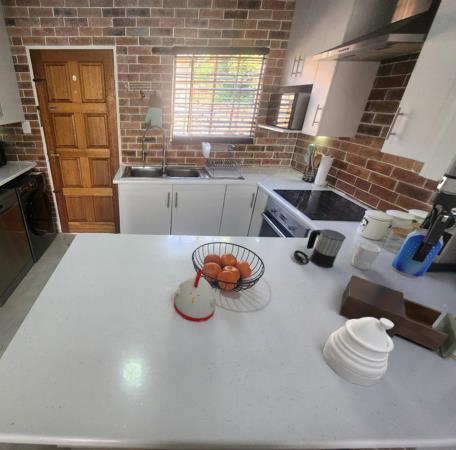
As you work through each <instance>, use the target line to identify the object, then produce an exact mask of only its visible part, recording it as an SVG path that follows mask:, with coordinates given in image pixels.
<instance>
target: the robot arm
mask: <svg viewBox="0 0 456 450" xmlns="http://www.w3.org/2000/svg"><path fill="white" fill-rule="evenodd" d="M437 183H438V184H437V186H436V189H435V190H434V191H433V192H432V194H431V196H430V198H429V202H430V203H432V205H431V206H432V207H431V208H430V210H429V212H428V213H427V214H426V216H425V217H424V219H423V220H422V222H421V224H420V225H419V227H418V229H427V230H428V231H427V234H426V236H425V238H424V240H423V241H419V243H420V245H419V247H418V248H417V250H416V252H415V253H414V255H413V257H412V258H411V260H414V261H418V262H421V263H423V261H424V260H425V258H426V257H427V255H428V253H429V252H430V250H431V249H432V247H433V246H434V247H436V246H437V243H438V242H439V240H440V238H441V236H443V234H444V232H445V230H446V229H447V227H448V225H449V223H450V222H452V220H453V212H452V211H453V209H456V152H455V153H454V155H453V157H452V158H451V161H450V163H449V165H448V166H447V168H446V170H445V171H444V174H443V176H442V178H438V179H437ZM430 241H431V242H430Z"/></svg>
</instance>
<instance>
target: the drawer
mask: <svg viewBox="0 0 456 450" xmlns="http://www.w3.org/2000/svg"><path fill="white" fill-rule="evenodd" d="M404 305H405V315H406V319H405V320H404V322H403V323H402V325H401V326H400V328H399V329H398V330H397V332H396V333H395V335H399V336H400V337H403V338H406V339H408V340H410V341H412V342H415V343H416V344H419V345H422V346H424V347H426V348H429V349H432V350H433V351H438V349H439V348H440V351H441V356H442V357H444V358H446V359H449V358H450V357H451V356H452V355H453V354H454V352H456V319H455V316H454V314H453V313H451V312H449V311H448V312H446V314H445V315H444V316H443V318H441V320H440V321H439V322H438V324H437V325H436V326H435V328H434V327H433V325H434V324H435V323H436V322H437V320H438V319H439V318H440V317H441V315H442V313H443V311H441V310H438V309H435V308H432V307H430V306H427V305H424V304H421V303H419V302H416V301H413V300H410V299H408V298H406V297H404Z"/></svg>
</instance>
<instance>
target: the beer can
mask: <svg viewBox="0 0 456 450" xmlns="http://www.w3.org/2000/svg"><path fill="white" fill-rule="evenodd" d="M427 231H428V230H427V229H420V228H415V229H414V230H413V231H411V232H410V233H408V234H407V236H406V237H405V239H404V241H403V243H402V245H401V246H400V248H399V250H398V252H397V254H396V256H395V257H394V259H393V260H392V263H391V266H392V270H393V271H394V272H395V273H396V274H399V275H400V276H403V277H405V278H409V279H418V278H422V277H423V276H424V275H425V274H426V272H427V270H428V269H429V267H430V266H431V264H432V263H433V261H434V260H435V258H436V257H437V256H438V254H439V252H440V250H441V249H442V247H443V246H444V241H443V240H444V239H443V238H444V236H443V235H442V236H441V238H440V240H439V242H438V243H437V246H436V247H434V246H433V247H432V249H431V250H430V252H429V253H428V255H427V257H426V258H425V260H424V261H423V263H421V262H418V261H414V260H411V258H412V257H413V255H414V253H415V252H416V250H417V248H418V247H419V245H420V243H419V241H423V240H424V238H425V236H426V234H427ZM430 242H431V241H430Z"/></svg>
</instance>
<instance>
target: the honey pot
mask: <svg viewBox="0 0 456 450" xmlns="http://www.w3.org/2000/svg"><path fill="white" fill-rule="evenodd" d="M393 326H394V324H393V323H392V322H391V321H390V320H388V319H385V318H381V319H380V320H378V319H376V318H373V317H365V318H360V319H348V320H347V321H346V322H345V323H344V325H343V326H341V327H339V328H338V329H337V330H335V331H333V332H332V333H331V334H330V335H329V337H328V338H327V341H326V342H325V344H324V347H322V348H323V349H322V354H323V358H324V360H325V361H326V363H327V364H328V365H329V367H330V368H331V369H332V370H333V371H334V372H335V373H336V374H337V375H338V376H340V377H341V378H343V379H344V380H346V381H348V382H350V383H352V384H354V385H356V386H357V385H358V386H361V387H367V388H369V387H373V386H375V385H377V384H378V383H379V381H380V380H382V378H383V376H384V375H385V373H386V372H387V369H388V367H389V365H388V361H389V359H388V358H389V355H390V354H389V353H391V352H392V351H393V350H394V348H395V346H394V345H395V344H394V342H393V340H392V338H391V337H389V336H388V334H386V331H385V329H391V328H392V327H393Z"/></svg>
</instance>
